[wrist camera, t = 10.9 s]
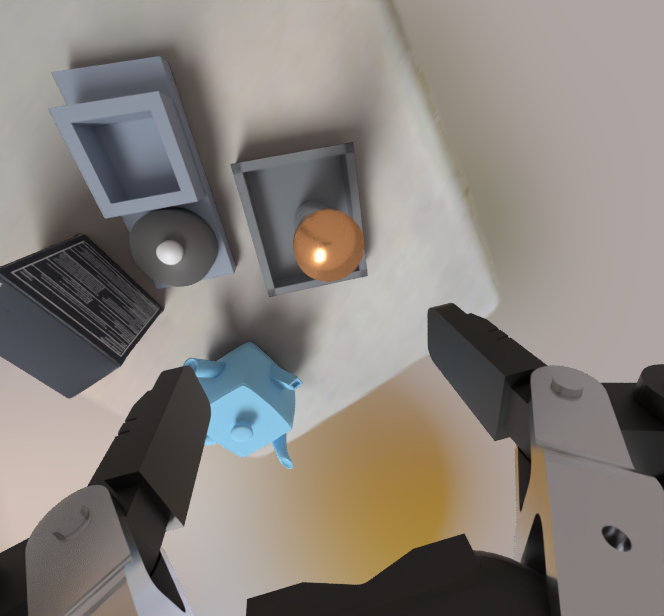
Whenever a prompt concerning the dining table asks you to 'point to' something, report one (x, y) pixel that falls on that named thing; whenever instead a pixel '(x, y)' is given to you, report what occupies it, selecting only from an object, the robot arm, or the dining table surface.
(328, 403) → the dining table surface
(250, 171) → the tray
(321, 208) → the copper capped glass jar
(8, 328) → the small box
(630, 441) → the robot arm
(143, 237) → the block
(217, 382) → the teapot
